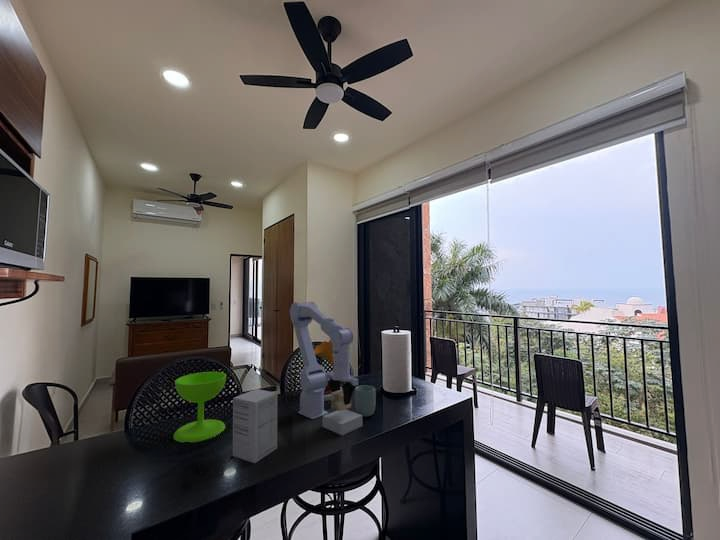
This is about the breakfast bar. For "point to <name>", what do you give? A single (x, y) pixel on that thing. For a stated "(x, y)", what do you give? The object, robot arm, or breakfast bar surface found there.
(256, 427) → the supplement box
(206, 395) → the wineglass
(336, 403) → the maple cube
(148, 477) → the breakfast bar surface
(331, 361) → the gramophone
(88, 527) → the breakfast bar surface
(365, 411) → the cup
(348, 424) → the grey base block
